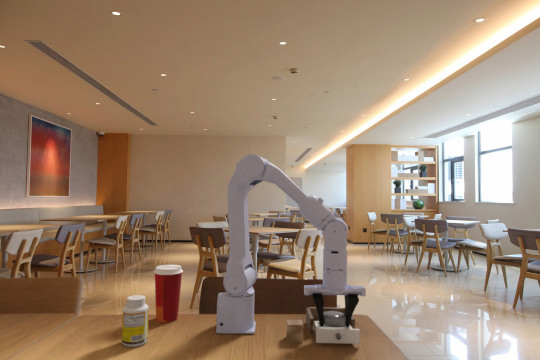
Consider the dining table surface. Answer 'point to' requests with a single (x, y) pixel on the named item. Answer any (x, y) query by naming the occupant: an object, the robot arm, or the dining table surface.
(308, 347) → the dining table surface
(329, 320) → the grey dome
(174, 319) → the paper cup
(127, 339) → the supplement bottle
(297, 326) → the wooden block
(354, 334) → the white drawer
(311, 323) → the open square box
